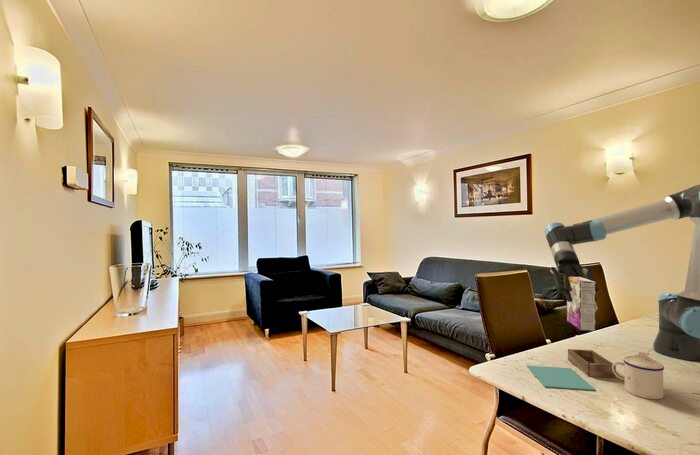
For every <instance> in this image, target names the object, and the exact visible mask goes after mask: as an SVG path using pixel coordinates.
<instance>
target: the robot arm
mask: <svg viewBox="0 0 700 455" xmlns="http://www.w3.org/2000/svg"><path fill="white" fill-rule="evenodd" d="M685 218H689V220H690V221H691V222H693V223H694V227H693V233H692V240H691V245H690V246H691V248H690V254H689V260H688V268H687V274H686V279H685V284H684V290H683V291H681V292H678V293H670V292H669V293H667V292H666V293H665V292H661V293H659V295H658V300H657V303H658V331H657V334H656V336H655V339H654V341H653V343H652V344H653V348H652V349H653V350H654V352H656V353H658V354H661V355H664V356H666V357H667V356H668V357H670V358H675V359H681V360H687V361H694V362H696V361H700V184H696V185H694V186H690V187H689V188H686V189H684V190H681V191H678V192H675V193H672V194H670V195H666V196H664V197H663V199H662V200H658V201H653V202H651V203H648V204H644V205H640V206H637V207H633V208H629V209H626V210H622V211H618V212H615V213H612V214H608V215H603V216H600V217H596V218H593V219H591V220H586V221H583V222H579V223H578V222H577V223H574V224H572V225H567V226H566V225H564V223H561V222H551V223H549V224H547V225H546V226H545V228H544V233H545V234H544V235H545V238H546V241H547V244H548V246H549V249H550V253H551V255H552V258H553V261H554V263H555V266H551V268H550V270H549V273H550V274H551V276H552V278H553V281H554V284H555V287H556V290H557V293H558V294H561V293H562V295H563V297H565V298H566V302H567V301H568V302H570V303H571V306H572V308H573V311H574V312H576V311H577V310H578V308H579V307H578V304H577V301H576V299H575V296H574V293H573V291H570V282H569V279H568V277H569V276H571V277H583V278H585V279H588V280H591V281H594V282H596V280H595V277H594V275H593V273H592V272H593V271H592V270H593V269H592V268H591V267H588V268H585V267H583V265H581V264H580V259H579V258H578V255H577V252H576V251H575V248H574V245H578V244H579V245H580V244H586V243H592V242H599V241H602V240H605V239H607V235H611V234H615V233H619V232H623V231H626V230H630V229H631V230H632V229H635V228H639V227H642V226H646V225H649V224H654V223H658V222H662V221H666V220H669V219H670V220H671V219H672V220H681V219H685ZM559 273H560V274H561V275H562V279H563V281H562V279H561V276H560V274H559ZM584 276H585V277H584ZM595 290H596V295H597V294H598V292H599V290H600V289H599V286H598V284H597V283H596V289H595ZM597 301H598V300H597V298H596V302H597ZM595 307H596V311H597V310H598V305H597V304H596V306H595Z"/></svg>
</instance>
